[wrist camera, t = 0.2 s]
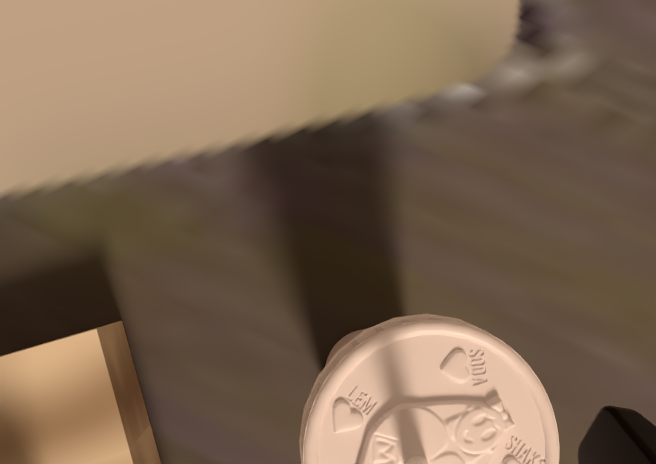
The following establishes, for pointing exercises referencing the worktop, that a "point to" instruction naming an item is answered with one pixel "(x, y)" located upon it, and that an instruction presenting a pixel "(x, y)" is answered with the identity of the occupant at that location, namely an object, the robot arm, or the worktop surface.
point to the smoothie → (427, 399)
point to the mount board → (74, 403)
